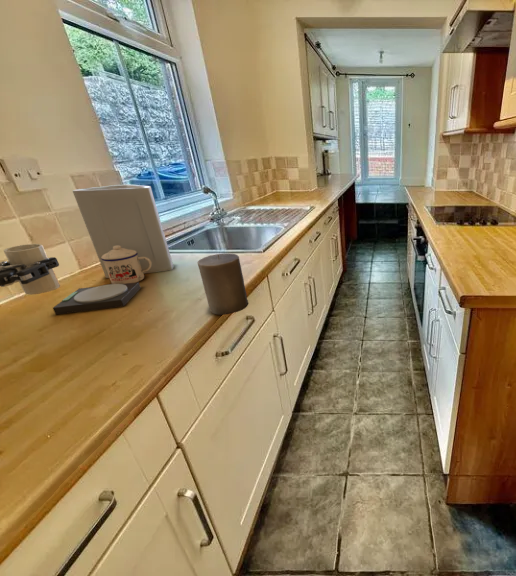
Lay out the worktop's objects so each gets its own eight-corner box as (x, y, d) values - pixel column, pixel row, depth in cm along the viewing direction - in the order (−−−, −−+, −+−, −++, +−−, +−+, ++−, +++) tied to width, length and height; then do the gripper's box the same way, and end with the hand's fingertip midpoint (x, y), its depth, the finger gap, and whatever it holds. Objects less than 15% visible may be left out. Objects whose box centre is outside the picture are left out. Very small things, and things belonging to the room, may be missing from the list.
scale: (55, 314, 82) (51, 306, 81) (81, 294, 94) (78, 286, 93) (123, 306, 87) (120, 298, 86) (140, 288, 98) (138, 280, 97)
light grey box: (177, 257, 125) (156, 183, 114) (172, 269, 113) (148, 187, 101) (117, 264, 118) (88, 185, 106) (105, 278, 105) (71, 191, 94)
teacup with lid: (107, 288, 98) (93, 251, 93) (115, 278, 106) (102, 244, 101) (153, 281, 103) (142, 246, 98) (157, 272, 110) (147, 239, 105)
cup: (18, 296, 70) (-4, 252, 66) (35, 285, 75) (15, 244, 71) (51, 292, 71) (31, 250, 67) (65, 283, 77) (48, 242, 72)
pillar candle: (256, 302, 89) (246, 250, 83) (229, 318, 80) (216, 262, 74) (229, 296, 92) (218, 246, 86) (200, 311, 84) (186, 257, 78)
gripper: (-25, 272, 56) (66, 245, 71) (-102, 271, 56) (4, 244, 72) (-4, 310, 59) (79, 276, 74) (-77, 309, 59) (20, 275, 75)
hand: (42, 261), depth 73 cm, fingers closed on cup, 6 cm apart
